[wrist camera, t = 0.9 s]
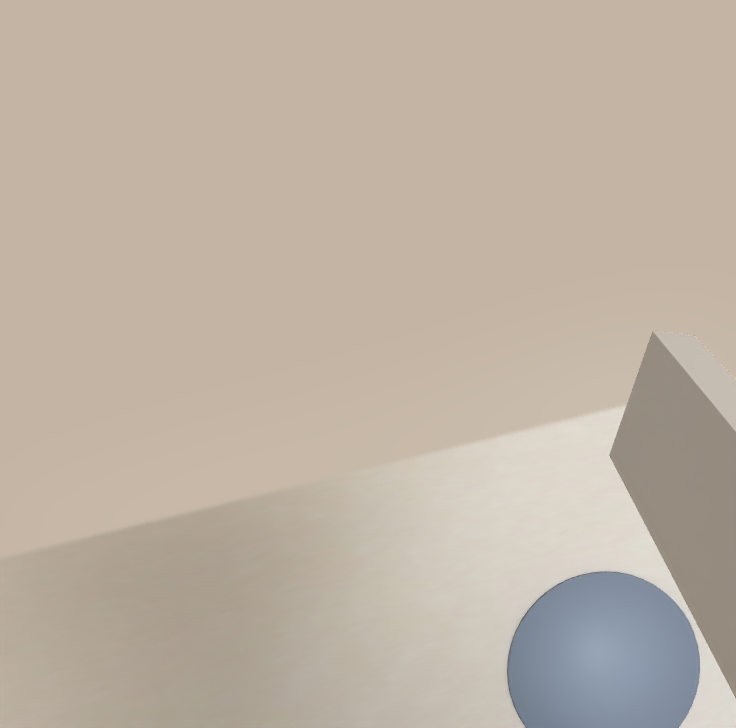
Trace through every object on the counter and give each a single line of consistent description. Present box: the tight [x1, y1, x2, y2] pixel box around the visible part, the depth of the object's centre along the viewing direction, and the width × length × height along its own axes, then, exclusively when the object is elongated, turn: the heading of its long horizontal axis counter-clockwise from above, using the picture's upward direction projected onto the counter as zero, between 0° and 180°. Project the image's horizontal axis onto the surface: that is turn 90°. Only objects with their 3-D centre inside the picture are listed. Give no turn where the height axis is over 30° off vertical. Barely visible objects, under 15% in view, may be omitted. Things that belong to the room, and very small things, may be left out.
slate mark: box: [508, 572, 700, 728], centre depth 46 cm, size 13×13×1 cm
